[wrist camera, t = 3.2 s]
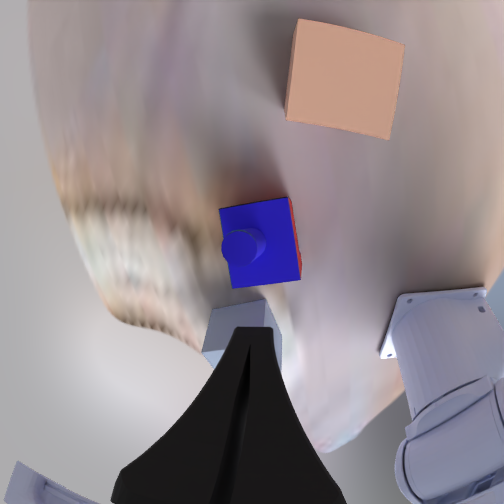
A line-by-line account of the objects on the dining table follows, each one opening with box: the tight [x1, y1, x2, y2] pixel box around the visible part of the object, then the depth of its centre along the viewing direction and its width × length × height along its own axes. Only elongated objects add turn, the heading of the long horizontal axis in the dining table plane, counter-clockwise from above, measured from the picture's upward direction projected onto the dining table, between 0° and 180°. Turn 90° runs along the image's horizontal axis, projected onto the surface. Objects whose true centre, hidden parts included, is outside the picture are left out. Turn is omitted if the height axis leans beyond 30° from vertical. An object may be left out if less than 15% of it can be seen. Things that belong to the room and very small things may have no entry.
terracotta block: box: [284, 18, 405, 140], centre depth 12 cm, size 4×4×4 cm
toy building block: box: [219, 197, 302, 289], centre depth 16 cm, size 4×4×8 cm
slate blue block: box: [201, 299, 282, 372], centre depth 22 cm, size 4×4×4 cm
